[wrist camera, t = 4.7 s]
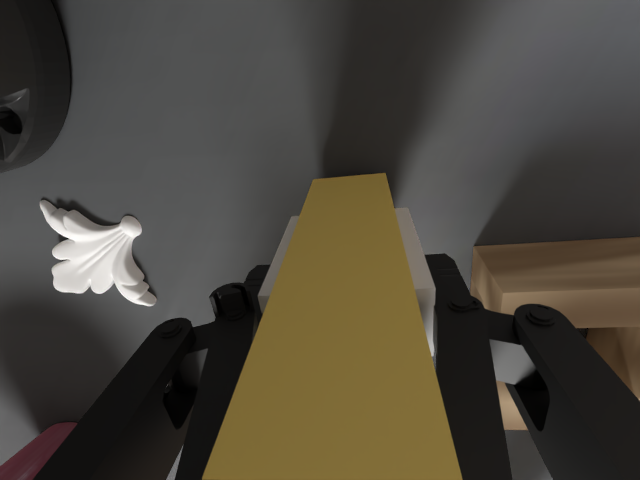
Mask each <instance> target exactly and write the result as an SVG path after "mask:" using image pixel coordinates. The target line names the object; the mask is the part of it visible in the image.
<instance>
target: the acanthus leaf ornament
mask: <svg viewBox="0 0 640 480" xmlns="http://www.w3.org/2000/svg"><path fill="white" fill-rule="evenodd" d="M40 207H41V209H42V211H43V213H44V216H45V218H46V220H47V222H48V223H49V225H50V226H51V227H52V228H53V229H54V230H55V231H57V232H58V233H59V234H61V235H63V236H65V237H67V238H69V239H67V240H65V241H62V242H60V243H59V244H57V245H56V246H55V247H54V248H53V250H52V254H53V256H54V257H55V258H57V259H60V260H65V259H68V260H65V261H63V262H60V263H58V264H56V265H54V266H53V268H52V274H53V276H54V280H53V285H54V287H55V289H56V290H58V291H61V292H73V293H78V294H79V293H83V292H85V291H86V290H87V289H88V288H89V287H90V285H91V289H92V291H93V292H95V293H97V294H101V293H104V292H105V291H107V290H108V289H109V288H110V287H111V286H112V285H113V284H114V282H115V285H116V287H117V289H118V290H119V291H120V293H121V294H122V295H123V296H124V297H125V298H126V299H128V300H130V301H131V302H134V303H137V304H141V305H146V306H153V305H154V304H155V303H156V301H157V299H156V297H155V296H154V295H153V294H151V293H150V292H148V291H147V290H148V288H149V285H148V284H147V283H145V282H143V279H144V274H143V273H142V272H141V270H140V269H139V268H138V267H137V265H136V264H135V262H134V260H133V257H132V242H133V239H134V238H135V237H136V236H138V235H140V234H141V231H142V228H141V225H140V223H139V221H138V220H137V219H136V218H134V217H132V216H124V217H123V218H122V220H121V223H120V224H117V225H113V226H101V225H98V224H95V223H93V222H92V221H90V220H89V219H87V218H86V217H84V216H83V215H82V214H81V213H79V212H78V211H76V210H71V211H69V212H68V211H66V210H64V209H62V208H59V209H57V208H56V207H54V206H53V205H52V204H51V203H49V202H48V201H46V200H41V201H40Z"/></svg>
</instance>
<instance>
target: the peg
mask: <svg viewBox="0 0 640 480" xmlns="http://www.w3.org/2000/svg"><path fill="white" fill-rule="evenodd" d="M202 480H463V479H462V475H461V471H460V467H459V464H458V460H457V456H456V452H455V448H454V444H453V440H452V436H451V432H450V428H449V424H448V420H447V416H446V412H445V408H444V404H443V400H442V396H441V392H440V388H439V384H438V380H437V376H436V372H435V368H434V364H433V360H432V356H431V352H430V348H429V344H428V340H427V336H426V332H425V328H424V324H423V320H422V316H421V312H420V308H419V304H418V300H417V296H416V292H415V288H414V284H413V280H412V276H411V272H410V268H409V264H408V260H407V256H406V252H405V249H404V245H403V241H402V237H401V233H400V229H399V225H398V221H397V217H396V213H395V209H394V205H393V201H392V197H391V193H390V189H389V185H388V181H387V177H386V173H378V174H367V175H356V176H345V177H334V178H322V179H313V181H312V184H311V187H310V189H309V192H308V195H307V197H306V200H305V203H304V205H303V208H302V211H301V213H300V216H299V219H298V222H297V224H296V227H295V230H294V232H293V235H292V238H291V240H290V243H289V246H288V248H287V251H286V254H285V256H284V259H283V262H282V265H281V267H280V270H279V273H278V275H277V278H276V281H275V283H274V286H273V289H272V291H271V294H270V297H269V299H268V302H267V305H266V308H265V310H264V313H263V316H262V318H261V321H260V324H259V326H258V329H257V332H256V334H255V337H254V340H253V342H252V345H251V348H250V351H249V353H248V356H247V359H246V361H245V364H244V367H243V369H242V372H241V375H240V377H239V380H238V383H237V385H236V388H235V391H234V394H233V396H232V399H231V402H230V404H229V407H228V410H227V412H226V415H225V418H224V420H223V423H222V426H221V428H220V431H219V434H218V437H217V439H216V442H215V445H214V447H213V450H212V453H211V455H210V458H209V461H208V463H207V466H206V469H205V471H204V474H203V477H202Z"/></svg>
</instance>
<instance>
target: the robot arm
mask: <svg viewBox="0 0 640 480" xmlns="http://www.w3.org/2000/svg"><path fill="white" fill-rule="evenodd" d="M69 96H70V70H69V61H68V55H67V49H66V45H65V40H64V37H63V33H62V29H61V26H60V23H59V20H58V17H57V14H56V12H55V9H54V7H53V4H52V2H51V0H0V173H2V172H6V171H9V170H13V169H16V168H19V167H22V166H25V165H27V164H29V163H31V162H33V161H34V160H36V159H38V158H39V157H40V156H41V155H43V154H44V153H45V152H46V151H47V150H48V149H49V148H50V147H51V145H52V144H53V143H54V141H55V140H56V138H57V137H58V135H59V133H60V131H61V129H62V126H63V124H64V121H65V118H66V114H67V110H68V105H69ZM394 209H395V213H396V217H397V221H398V225H399V229H400V233H401V237H402V241H403V245H404V249H405V252H406V256H407V260H408V264H409V268H410V272H411V276H412V280H413V284H414V288H415V292H416V296H417V300H418V304H419V308H420V312H421V316H422V320H423V324H424V328H425V332H426V336H427V340H428V344H429V348H430V352H431V356H434V347H435V351H436V376H437V380H438V384H439V388H440V392H441V396H442V400H443V404H444V408H445V412H446V416H447V420H448V424H449V428H450V432H451V436H452V440H453V444H454V448H455V452H456V456H457V460H458V464H459V467H460V471H461V475H462V479H463V480H512V475H511V468H510V462H509V456H508V450H507V444H506V438H505V432H504V426H503V419H502V413H501V407H500V401H499V395H498V389H497V383H496V380H497V381H501V382H505V385H506V387H507V389H508V391H509V393H510V395H511V397H512V399H513V401H514V403H515V405H516V407H517V409H518V411H519V413H520V415H521V417H522V419H523V421H524V423H525V425H526V427H527V429H528V431H529V433H530V435H531V437H532V439H533V441H534V443H535V445H536V447H537V449H538V451H539V453H540V455H541V457H542V459H543V461H544V463H545V465H546V467H547V468H548V470H549V472H550V474H551V476H552V478H553V480H640V400H639V399H638V398H637V397H636V396H635V395H634V394H633V393H632V391H631V390H630V389H629V388H628V387H627V386H626V385H625V383H624V382H623V381H622V380H621V379H620V378H619V377H618V375H617V374H616V373H615V372H614V371H613V370H612V369H611V367H610V366H609V365H608V364H607V363H606V362H605V361H604V360H603V358H602V357H601V356H600V355H599V354H598V353H597V352H596V350H595V349H594V348H593V347H592V346H591V345H590V344H589V342H588V341H587V340H586V339H585V338H584V337H583V336H582V334H581V333H580V332H579V331H578V330H577V329H576V328H575V326H574V325H573V324H572V323H571V322H570V321H569V320H568V319H567V317H566V316H565V315H563V314H562V313H561V312H560V311H558V310H556V309H554V308H552V307H549V306H545V305H541V304H525V305H521V306H519V307H518V308H516V310H515V312H514V315H510V314H504V313H498V312H494V311H490V310H488V309H485V308H484V306H483V304H482V302H481V301H480V300H478V299H477V298H476V297H473V296H471V295H470V292H469V290H468V288H467V286H466V284H465V282H464V280H463V278H462V276H461V275H460V272H459V270H458V268H457V266H456V263H455V261H454V260H453V259H452V258H450V257H449V256H448V255H446V254H431V255H424V253H423V250H422V247H421V244H420V241H419V238H418V235H417V233H416V230H415V227H414V224H413V221H412V218H411V215H410V212H409V209H408V207H406V208H394ZM298 219H299V216H291V218H290V221H289V223H288V225H287V228H286V230H285V233H284V235H283V237H282V240H281V242H280V244H279V247H278V249H277V251H276V254H275V256H274V258H273V261H272V263H271V265H257V266H256V267H255V268H254V269H252V270H251V271H250V272H249V274H248V276H247V278H246V281H245V282H244V283H230V284H226V285H223V286H221V287H219V288H217V289H216V290H215V291H213V292H212V294H211V295H210V297H209V298H210V301H211V304H212V307H213V310H214V314H215V317H216V318H215V321H214V322H211V323H208V324H205V325H201V326H197V327H192V324H191V321H189V320H188V319H186V318H175V319H170V320H168V321H165V322H163V323H162V324H160V325H158V326H157V327H156V328H155V329H154V330H153V331H152V332H151V333H150V335H149V336H148V337H147V338H146V339H145V341H144V342H143V343H142V344H141V346H140V347H139V348H138V349H137V351H136V352H135V353H134V354H133V356H132V357H131V358H130V359H129V361H128V362H127V363H126V364H125V366H124V367H123V368H122V369H121V370H120V372H119V373H118V374H117V375H116V377H115V378H114V379H113V380H112V382H111V383H110V384H109V385H108V387H107V388H106V389H105V390H104V392H103V393H102V394H101V395H100V396H99V398H98V399H97V400H96V401H95V403H94V404H93V405H92V406H91V408H90V409H89V410H88V411H87V413H86V414H85V415H84V416H83V418H82V419H81V420H80V421H79V422H78V424H77V425H76V426H75V427H74V429H73V430H72V431H71V432H70V434H69V435H68V436H67V437H66V439H65V440H64V441H63V442H62V444H61V445H60V446H59V447H58V448H57V450H56V451H55V452H54V453H53V455H52V456H51V457H50V458H49V460H48V461H47V462H46V463H45V465H44V466H43V467H42V468H41V470H40V471H39V472H38V473H37V474H36V476H35V477H34V478H33V479H32V480H166V479H167V476H168V474H169V472H170V470H171V468H172V466H173V464H174V462H175V460H176V458H177V456H178V454H179V452H180V450H181V448H182V446H183V449H182V453H181V457H180V461H179V465H178V469H177V473H176V477H175V480H202V477H203V474H204V471H205V469H206V466H207V463H208V461H209V458H210V455H211V453H212V450H213V447H214V445H215V442H216V439H217V437H218V434H219V431H220V428H221V426H222V423H223V420H224V418H225V415H226V412H227V410H228V407H229V404H230V402H231V399H232V396H233V394H234V391H235V388H236V385H237V383H238V380H239V377H240V375H241V372H242V369H243V367H244V364H245V361H246V359H247V356H248V353H249V351H250V348H251V345H252V342H253V340H254V337H255V334H256V332H257V329H258V326H259V324H260V321H261V318H262V316H263V313H264V310H265V308H266V305H267V302H268V299H269V297H270V294H271V291H272V289H273V286H274V283H275V281H276V278H277V275H278V273H279V270H280V267H281V265H282V262H283V259H284V256H285V254H286V251H287V248H288V246H289V243H290V240H291V238H292V235H293V232H294V230H295V227H296V224H297V222H298ZM167 384H168V386H167ZM166 386H167V387H166ZM165 388H166V389H165ZM183 444H184V445H183Z"/></svg>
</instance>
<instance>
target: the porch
mask: <svg viewBox="0 0 640 480" xmlns="http://www.w3.org/2000/svg"><path fill="white" fill-rule="evenodd" d="M470 295H471V296H473V297H476V298H477V299H478V300H480V301H481V302H482V304H483V306H484V308H485V309H488V310H490V311H494V312H498V313H504V314H510V315H514V312H515V310H516V308H518V307H519V306H521V305H525V304H541V305H545V306H549V307H552V308H554V309H556V310H558V311H560V312H561V313H562V314H563V315H565V316H566V317H567V319H568V320H569V321H570V322H571V323H572V324H573V325H574V326H575V328H589V329H588V333H587V337H586V340H587V341H588V342H589V344H590V345H591V346H592V347H593V348H594V349H595V350H596V352H597V353H598V354H599V355H600V356H601V357H602V358H603V360H604V361H605V362H606V363H607V364H608V365H609V366H610V367H611V369H612V370H613V371H614V372H615V373H616V374H617V375H618V377H619V378H620V379H621V380H622V381H623V382H624V383H625V385H626V386H627V387H628V388H629V389H630V390H631V391H632V393H633V394H634V395H635V396H636V397H637V398H638V399H639V400H640V237H628V238H610V239H593V240H575V241H557V242H540V243H522V244H504V245H487V246H474V248H473V261H472V274H471V287H470ZM496 383H497V389H498V395H499V401H500V407H501V413H502V419H503V426H504V430H528V429H527V427H526V425H525V423H524V421H523V419H522V417H521V415H520V413H519V411H518V409H517V407H516V405H515V403H514V401H513V399H512V397H511V395H510V393H509V391H508V389H507V387H506V385H505V382H501V381H497V380H496Z"/></svg>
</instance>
